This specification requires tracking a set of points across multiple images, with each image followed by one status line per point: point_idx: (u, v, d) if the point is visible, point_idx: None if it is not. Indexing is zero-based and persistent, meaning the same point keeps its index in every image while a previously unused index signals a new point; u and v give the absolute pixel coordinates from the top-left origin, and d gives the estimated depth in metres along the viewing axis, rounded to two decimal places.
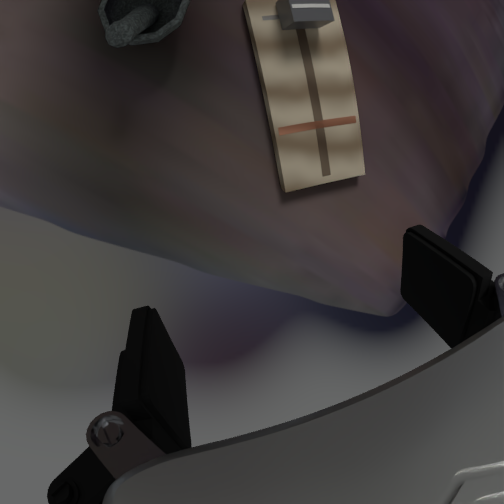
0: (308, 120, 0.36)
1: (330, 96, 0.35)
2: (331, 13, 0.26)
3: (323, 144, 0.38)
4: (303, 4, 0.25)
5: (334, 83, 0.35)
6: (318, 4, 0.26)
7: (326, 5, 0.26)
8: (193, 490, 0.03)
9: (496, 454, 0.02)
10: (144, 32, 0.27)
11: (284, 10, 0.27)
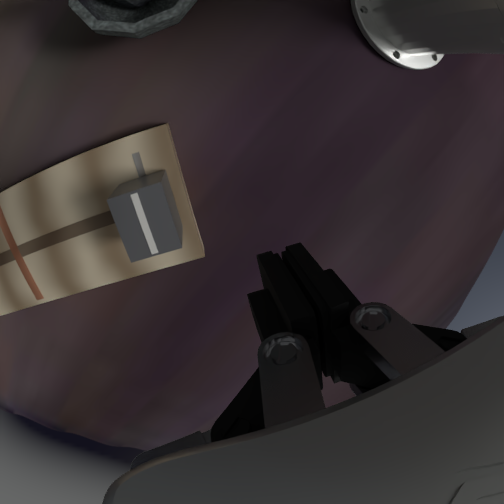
0: (15, 238, 0.23)
1: (51, 263, 0.25)
2: (142, 257, 0.22)
3: None
4: (143, 212, 0.20)
5: (68, 267, 0.25)
6: (150, 236, 0.21)
7: (152, 248, 0.21)
8: (193, 490, 0.03)
9: (497, 454, 0.02)
10: None
11: (139, 182, 0.21)
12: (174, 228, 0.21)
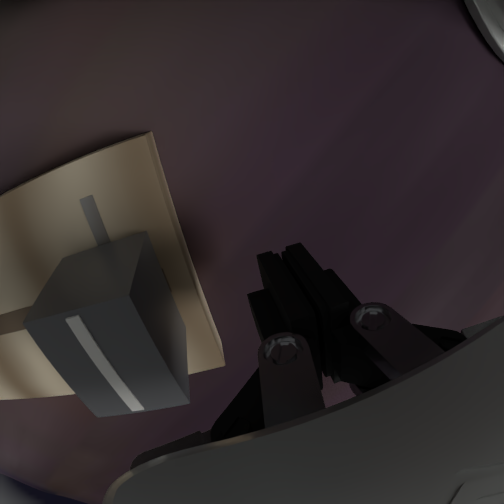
0: None
1: None
2: (114, 412, 0.10)
3: None
4: (101, 350, 0.08)
5: (15, 368, 0.14)
6: (124, 389, 0.09)
7: (132, 404, 0.10)
8: (193, 490, 0.03)
9: (496, 454, 0.02)
10: None
11: (90, 271, 0.09)
12: (171, 377, 0.09)
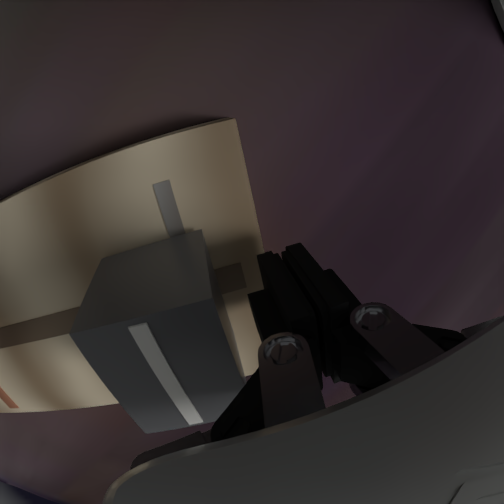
0: None
1: (18, 369, 0.12)
2: (168, 427, 0.09)
3: None
4: (166, 361, 0.08)
5: (47, 377, 0.13)
6: (186, 401, 0.09)
7: (191, 417, 0.09)
8: (193, 490, 0.03)
9: (496, 454, 0.02)
10: None
11: (146, 273, 0.09)
12: (241, 386, 0.09)
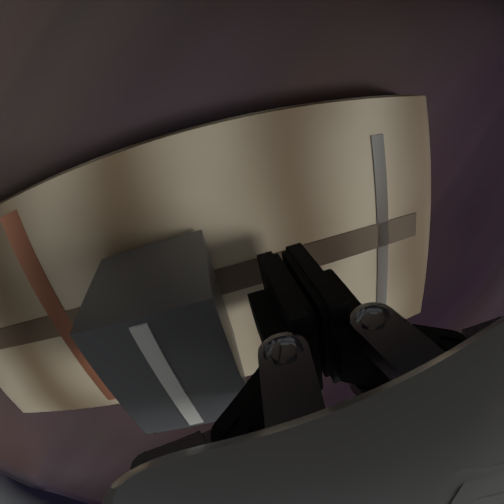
0: (61, 295, 0.11)
1: None
2: (168, 427, 0.09)
3: (24, 336, 0.12)
4: (167, 362, 0.08)
5: None
6: (186, 401, 0.09)
7: (191, 417, 0.09)
8: (193, 490, 0.03)
9: (496, 454, 0.02)
10: None
11: (147, 273, 0.09)
12: (241, 386, 0.09)
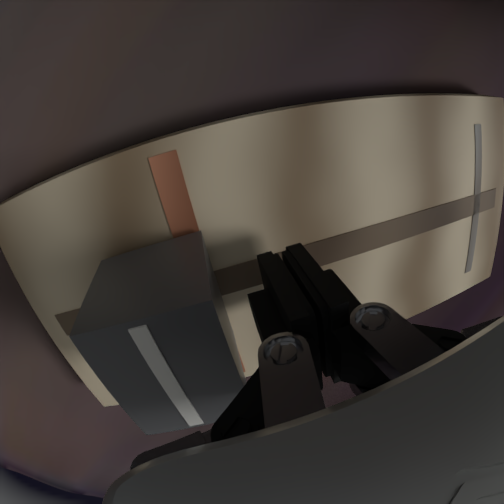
0: (212, 252, 0.12)
1: None
2: (168, 428, 0.09)
3: None
4: (166, 363, 0.08)
5: None
6: (186, 403, 0.09)
7: (192, 418, 0.09)
8: (193, 490, 0.03)
9: (496, 454, 0.02)
10: None
11: (146, 275, 0.09)
12: (241, 387, 0.09)
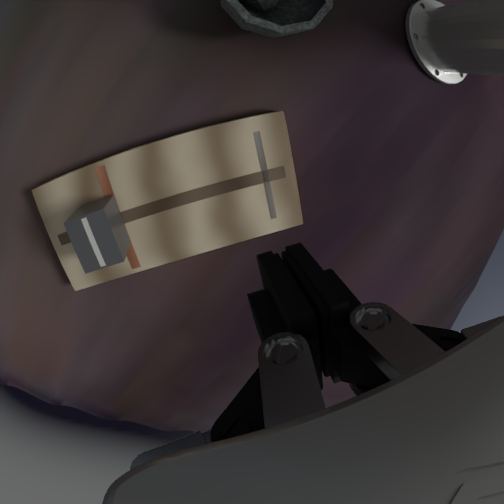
0: (119, 204, 0.28)
1: (157, 229, 0.30)
2: (93, 269, 0.25)
3: None
4: (92, 233, 0.24)
5: (176, 233, 0.30)
6: (98, 252, 0.24)
7: (101, 262, 0.25)
8: (193, 490, 0.03)
9: (496, 454, 0.02)
10: None
11: (90, 207, 0.25)
12: (116, 245, 0.24)
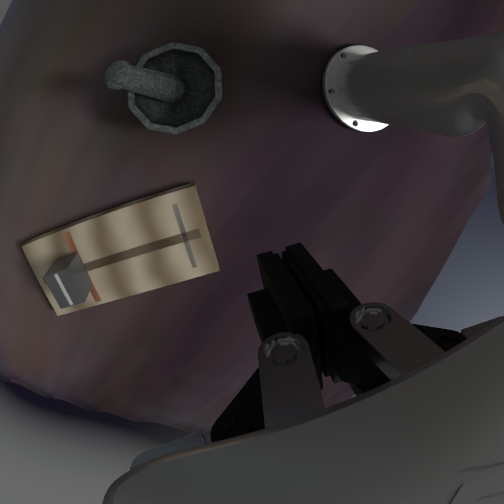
0: (82, 258, 0.37)
1: (110, 276, 0.39)
2: (65, 306, 0.34)
3: None
4: (62, 283, 0.33)
5: (123, 278, 0.39)
6: (67, 295, 0.34)
7: (70, 301, 0.34)
8: (193, 490, 0.03)
9: (496, 454, 0.02)
10: None
11: (61, 264, 0.34)
12: (78, 292, 0.34)
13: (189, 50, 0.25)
